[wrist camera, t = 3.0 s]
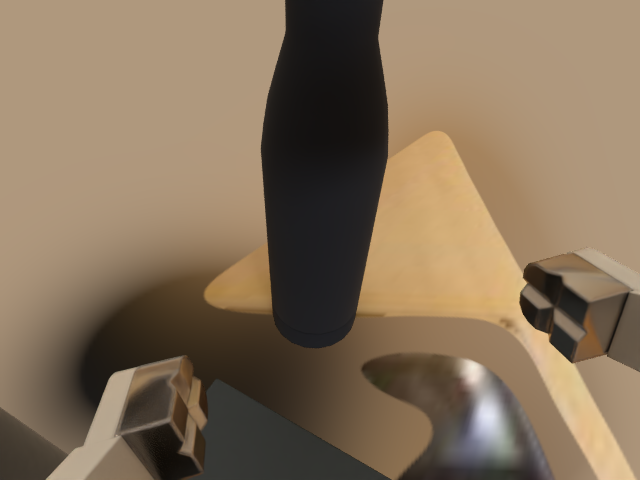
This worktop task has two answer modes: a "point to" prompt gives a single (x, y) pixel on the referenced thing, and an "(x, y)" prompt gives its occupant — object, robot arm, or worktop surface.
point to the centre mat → (267, 445)
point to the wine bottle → (323, 165)
